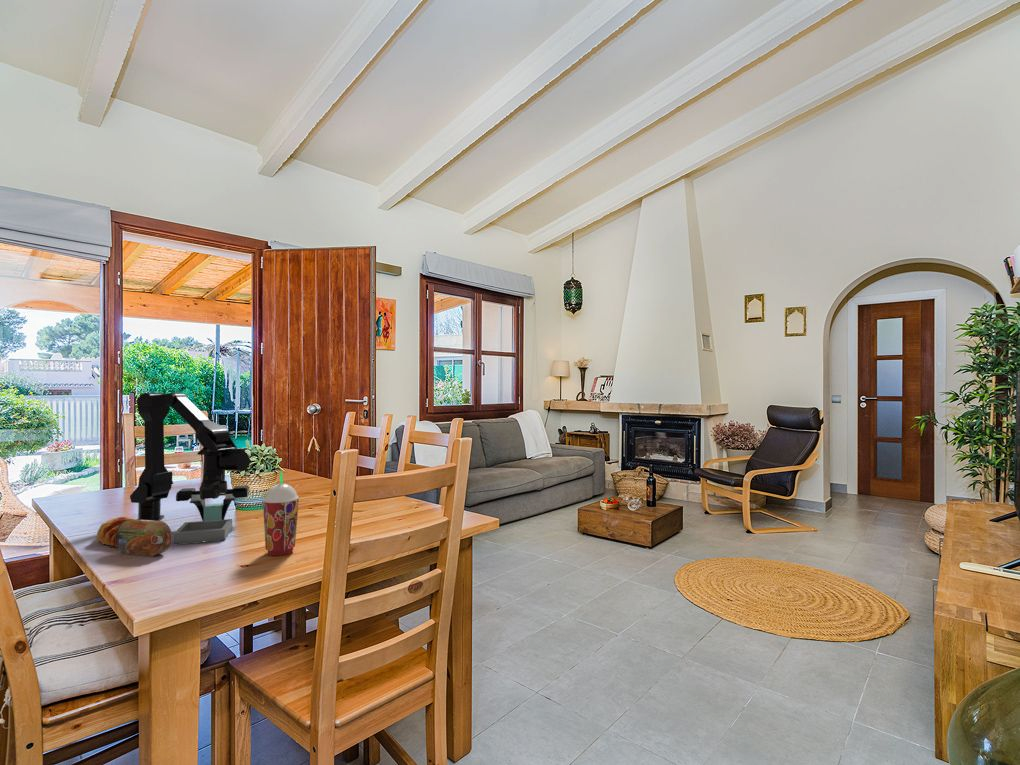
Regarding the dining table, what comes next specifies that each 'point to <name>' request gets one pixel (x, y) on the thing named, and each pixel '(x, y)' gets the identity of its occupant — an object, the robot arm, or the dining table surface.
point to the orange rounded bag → (143, 537)
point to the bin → (202, 531)
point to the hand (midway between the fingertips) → (213, 521)
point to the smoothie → (280, 518)
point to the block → (213, 512)
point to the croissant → (110, 530)
